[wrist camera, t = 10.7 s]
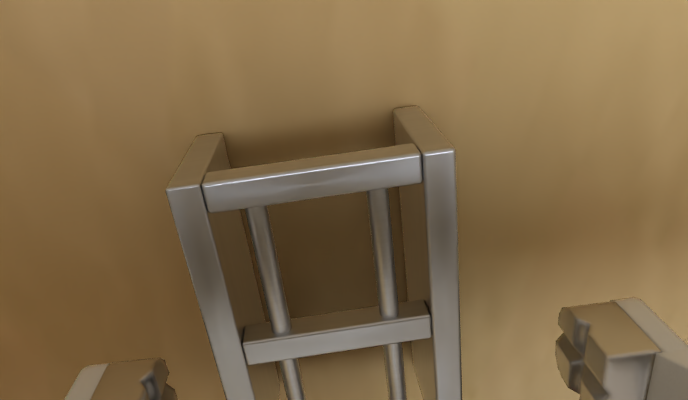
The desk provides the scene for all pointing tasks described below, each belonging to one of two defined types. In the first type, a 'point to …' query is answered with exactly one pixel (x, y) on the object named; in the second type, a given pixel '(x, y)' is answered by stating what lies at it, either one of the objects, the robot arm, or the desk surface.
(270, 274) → the rack
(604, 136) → the desk surface
